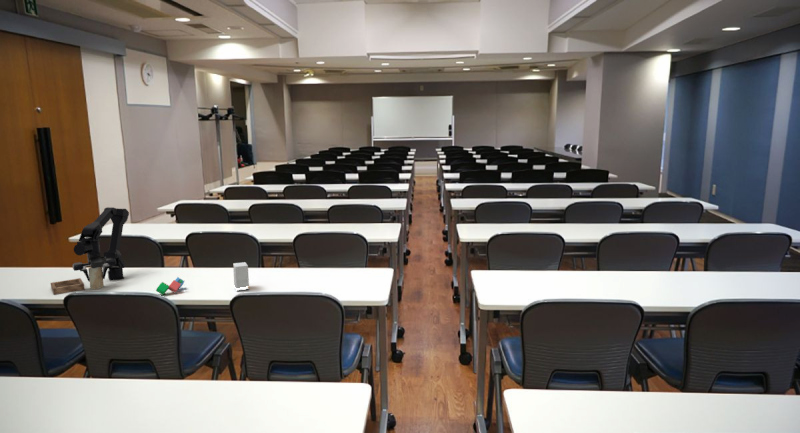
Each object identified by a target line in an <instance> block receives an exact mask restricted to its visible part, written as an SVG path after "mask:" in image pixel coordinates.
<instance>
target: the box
mask: <svg viewBox="0 0 800 433" xmlns="http://www.w3.org/2000/svg"><path fill="white" fill-rule="evenodd" d="M87 271H88V275H89V280H90V281H89V290H99V289H101V288H104V287H105V284H104V279H103V266H102V267H96V268H92V267H91V266H90V267H89V268H88V267H87Z"/></svg>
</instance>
